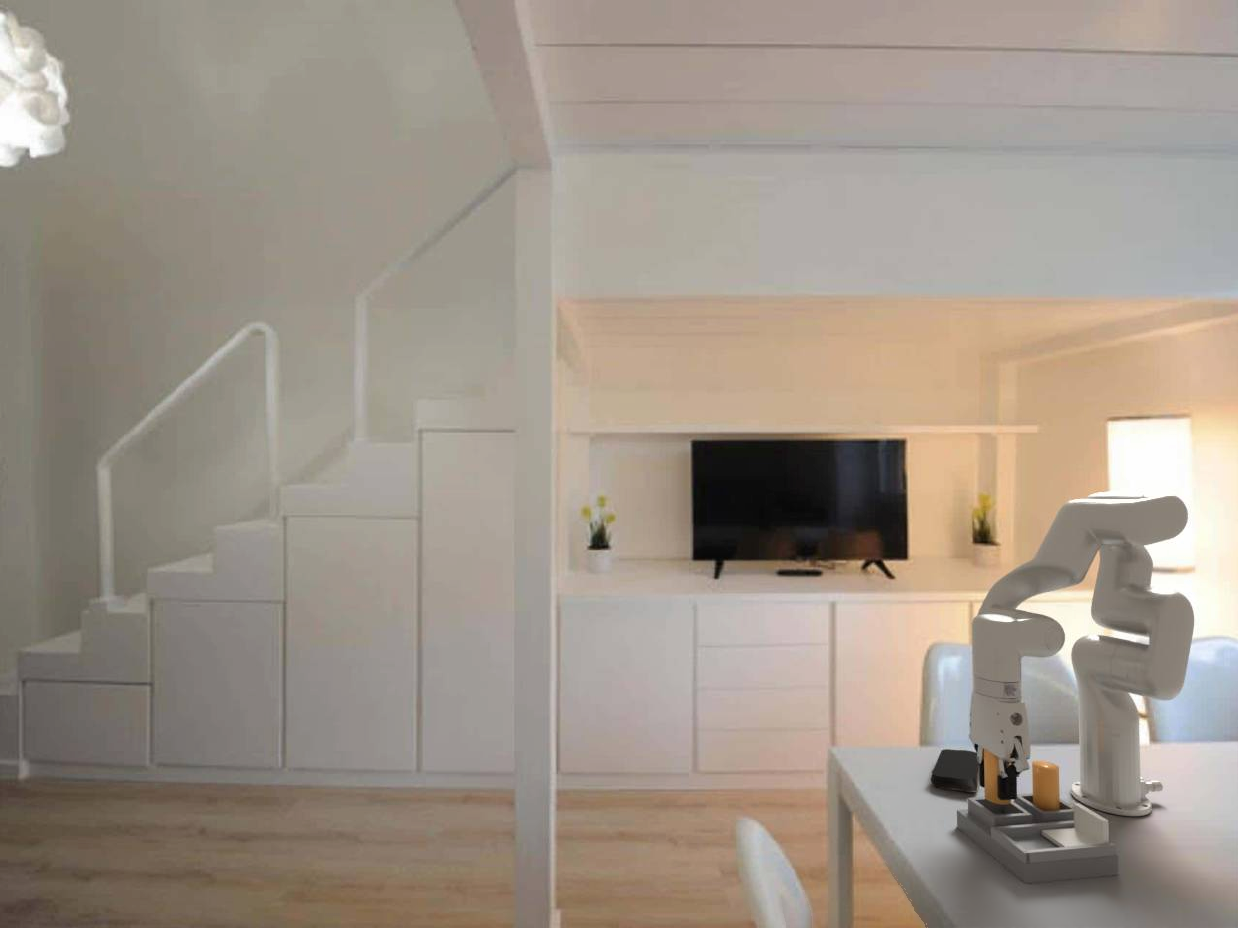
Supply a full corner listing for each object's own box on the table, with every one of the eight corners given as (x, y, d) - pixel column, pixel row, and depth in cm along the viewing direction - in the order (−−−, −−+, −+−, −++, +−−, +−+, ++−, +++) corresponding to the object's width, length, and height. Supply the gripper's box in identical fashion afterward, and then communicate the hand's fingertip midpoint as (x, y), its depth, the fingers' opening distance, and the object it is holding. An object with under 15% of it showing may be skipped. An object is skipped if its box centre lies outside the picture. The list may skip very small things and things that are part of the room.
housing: (1045, 819, 123) (1044, 753, 123) (1126, 873, 106) (1125, 797, 107) (957, 826, 121) (955, 759, 121) (1025, 883, 104) (1024, 805, 104)
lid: (1079, 831, 113) (1079, 803, 113) (1109, 850, 107) (1108, 820, 107) (1041, 834, 112) (1041, 806, 112) (1069, 853, 106) (1068, 823, 106)
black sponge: (977, 799, 131) (976, 781, 132) (929, 789, 136) (929, 771, 136) (984, 769, 145) (984, 752, 145) (941, 760, 150) (941, 744, 150)
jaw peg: (1000, 792, 119) (999, 741, 120) (1016, 803, 115) (1015, 750, 116) (979, 794, 119) (978, 742, 119) (994, 805, 115) (994, 752, 115)
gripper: (1052, 701, 110) (1054, 814, 109) (984, 672, 126) (985, 770, 126) (1010, 703, 109) (1012, 817, 108) (947, 673, 125) (948, 772, 125)
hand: (997, 791), depth 117 cm, fingers closed on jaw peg, 4 cm apart
